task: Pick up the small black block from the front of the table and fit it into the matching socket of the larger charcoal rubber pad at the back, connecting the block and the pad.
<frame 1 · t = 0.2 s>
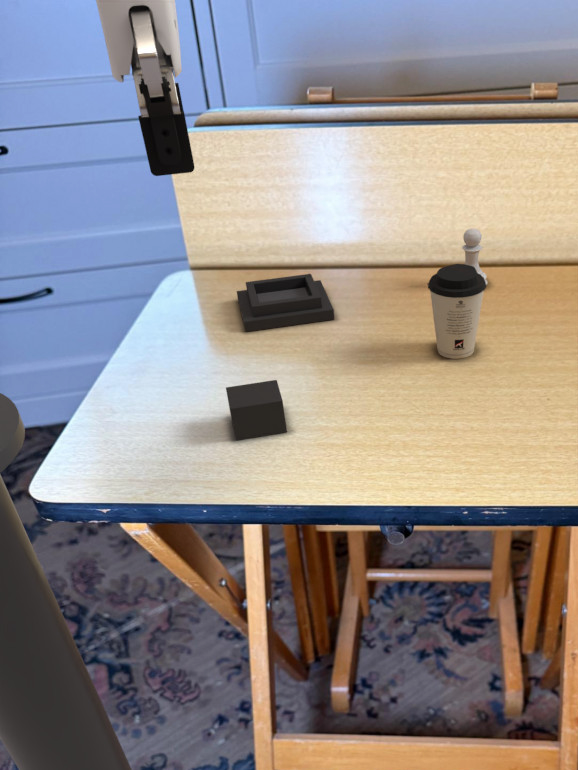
hand: (171, 154, 63), 30 cm above the table, tool pointing down, fingers open, 9 cm apart
chess piece: (470, 285, 115), on the table
black block: (259, 425, 88), on the table
coffee cup: (455, 351, 100), on the table
base pad: (285, 310, 110), on the table
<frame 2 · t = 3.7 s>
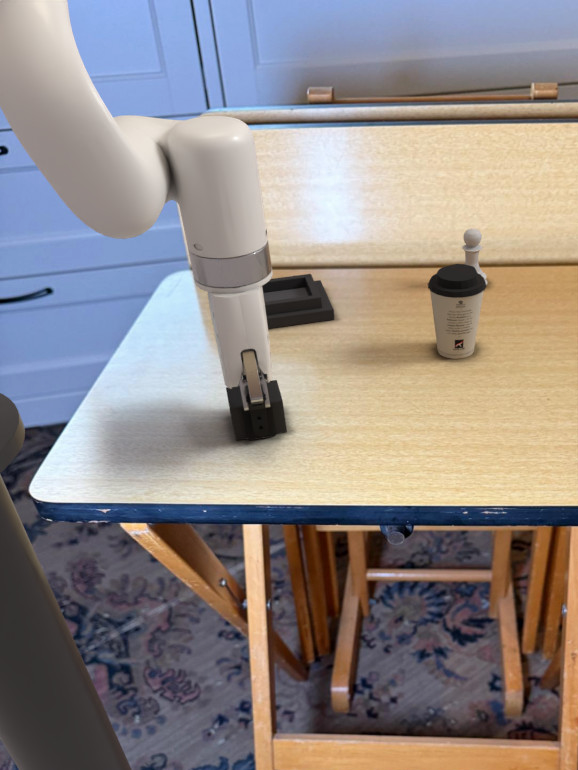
hand: (258, 422, 88), 0 cm above the table, tool pointing down, fingers closed on black block, 4 cm apart
black block: (259, 425, 88), on the table, touching gripper
everything else where it was.
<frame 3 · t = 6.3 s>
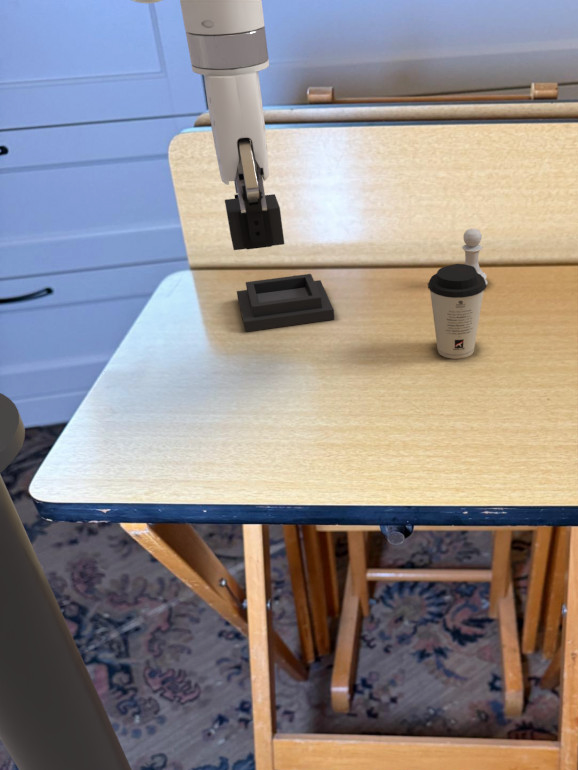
hand: (256, 236, 89), 16 cm above the table, tool pointing down, fingers closed on black block, 4 cm apart
black block: (257, 240, 89), point 15 cm above the table, touching gripper
everything else where it was.
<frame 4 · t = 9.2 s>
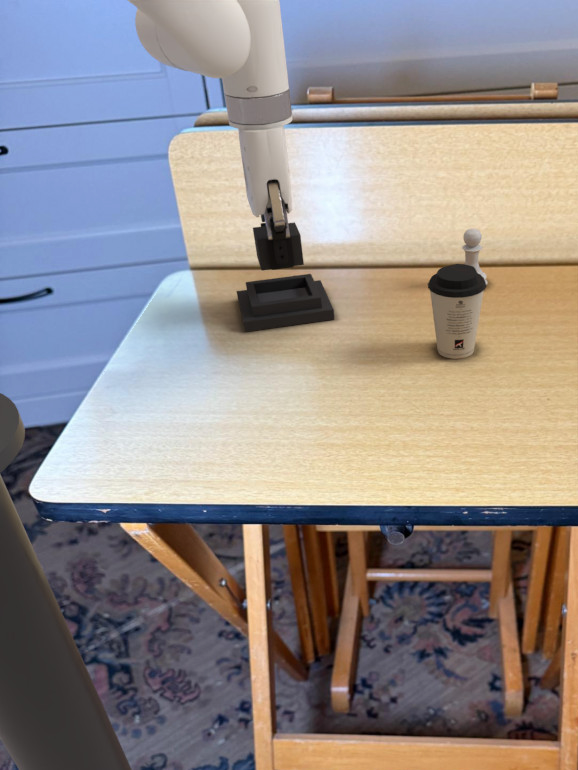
hand: (279, 258, 105), 7 cm above the table, tool pointing down, fingers closed on black block, 4 cm apart
black block: (280, 261, 106), point 7 cm above the table, touching gripper
everything else where it was.
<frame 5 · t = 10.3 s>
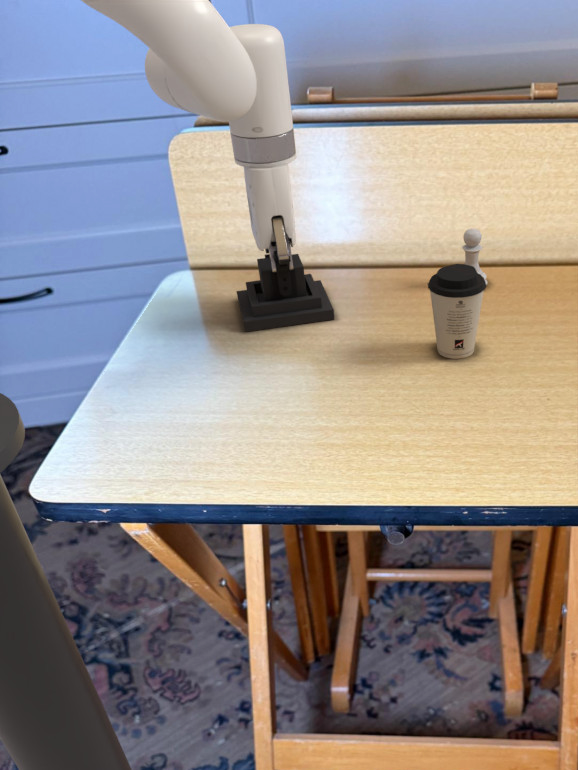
hand: (282, 288, 108), 3 cm above the table, tool pointing down, fingers closed on black block, 4 cm apart
black block: (283, 291, 108), point 3 cm above the table, touching gripper
everything else where it was.
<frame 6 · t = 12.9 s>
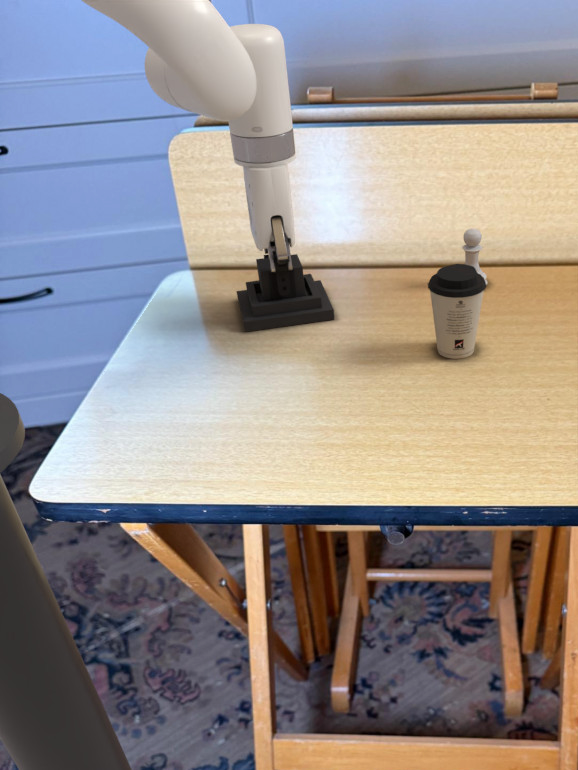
hand: (281, 289, 108), 3 cm above the table, tool pointing down, fingers closed on black block, 4 cm apart
black block: (282, 291, 108), point 3 cm above the table, touching gripper
everything else where it was.
when the fingers open (4 cm above the table, at t = 14.7 s): black block drops 2 cm, resting on base pad.
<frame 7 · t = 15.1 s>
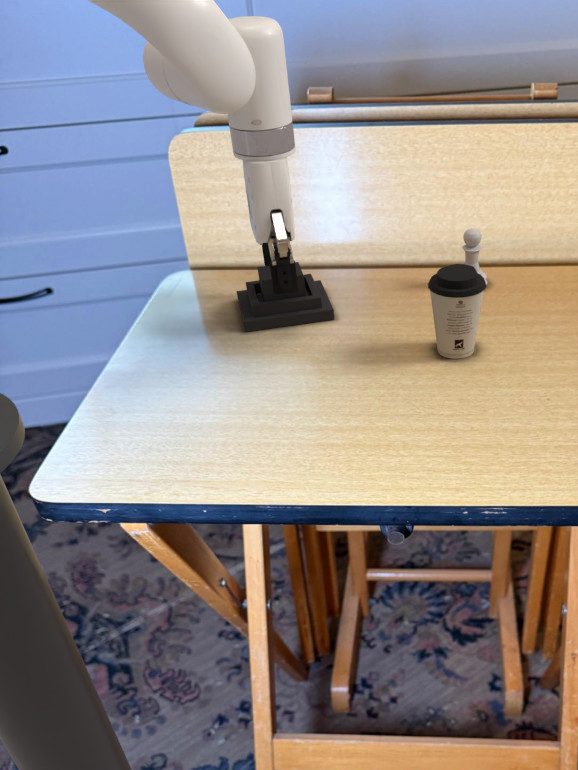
hand: (281, 278, 107), 5 cm above the table, tool pointing down, fingers open, 8 cm apart
black block: (283, 299, 109), point 2 cm above the table, touching base pad
everything else where it was.
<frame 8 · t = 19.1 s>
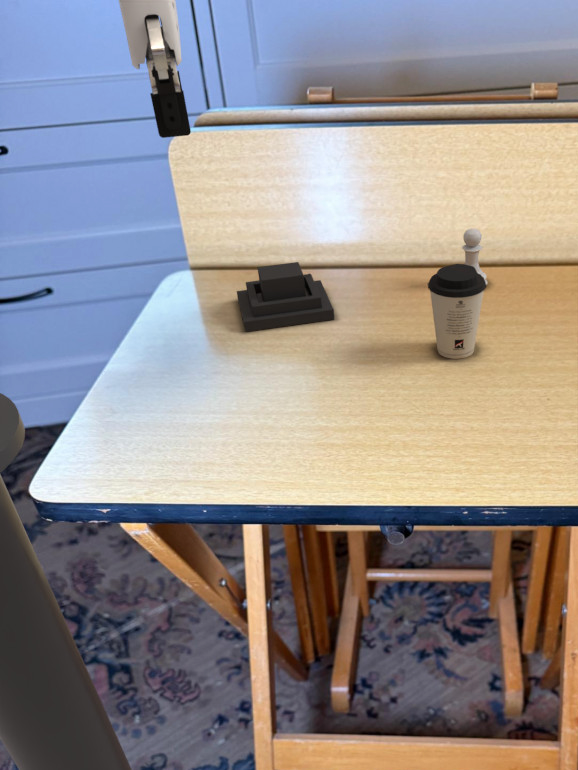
hand: (173, 123, 85), 26 cm above the table, tool pointing down, fingers open, 9 cm apart
nothing on the table moved.
at the end: black block 0.0 cm off-centre on the base pad, point 1.6 cm above the base pad's base; black block tilted 0°; the gripper is holding nothing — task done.
